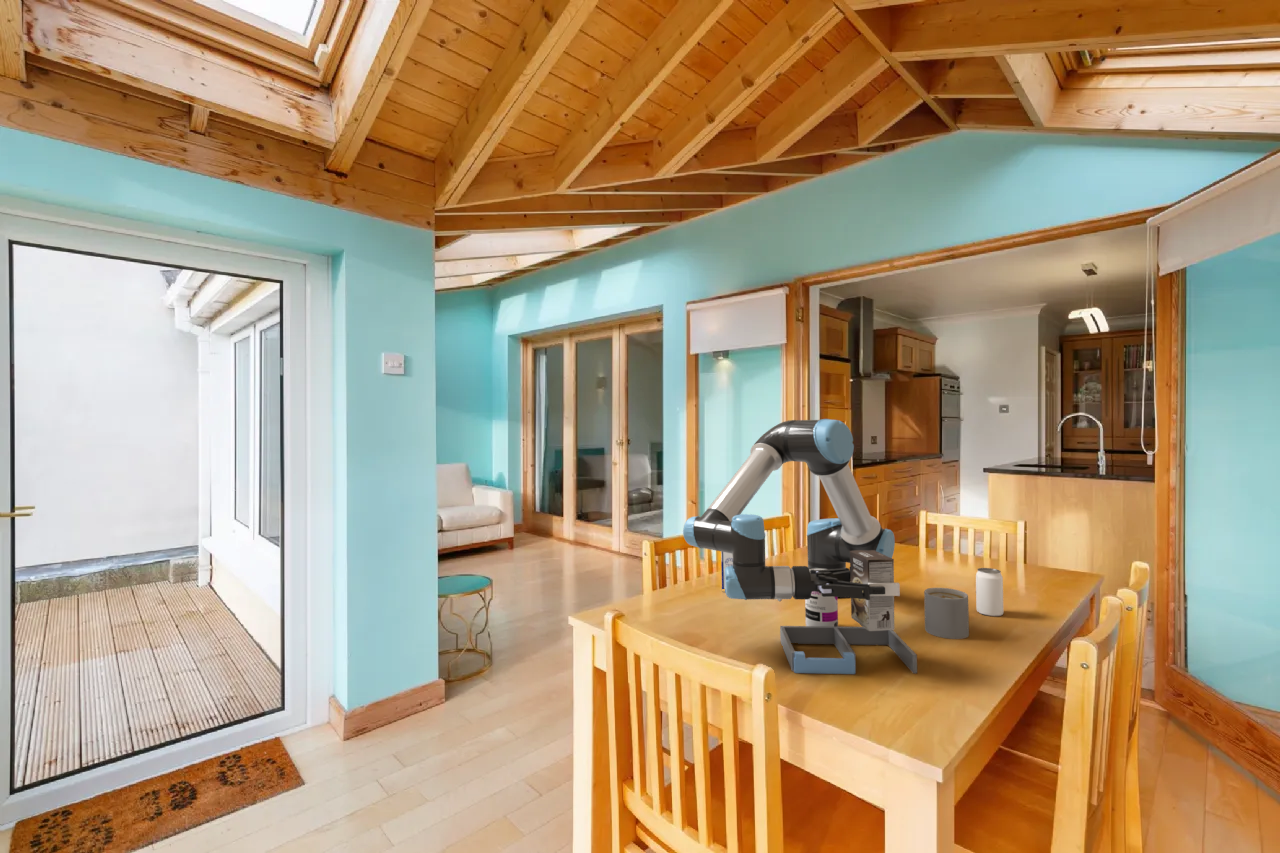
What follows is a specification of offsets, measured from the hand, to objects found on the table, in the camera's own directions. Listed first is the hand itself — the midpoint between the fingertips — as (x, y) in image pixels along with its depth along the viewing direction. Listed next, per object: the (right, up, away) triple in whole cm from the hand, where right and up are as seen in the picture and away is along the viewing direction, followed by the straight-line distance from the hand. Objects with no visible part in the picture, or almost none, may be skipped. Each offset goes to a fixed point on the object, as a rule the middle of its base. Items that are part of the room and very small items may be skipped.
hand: (891, 582), depth 133 cm
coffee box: (-4, -10, +1) cm, 11 cm away
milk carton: (-26, -18, +56) cm, 64 cm away
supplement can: (-10, -18, +20) cm, 28 cm away
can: (+41, -17, +30) cm, 53 cm away
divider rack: (-10, -18, +1) cm, 20 cm away
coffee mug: (+22, -17, +17) cm, 33 cm away
